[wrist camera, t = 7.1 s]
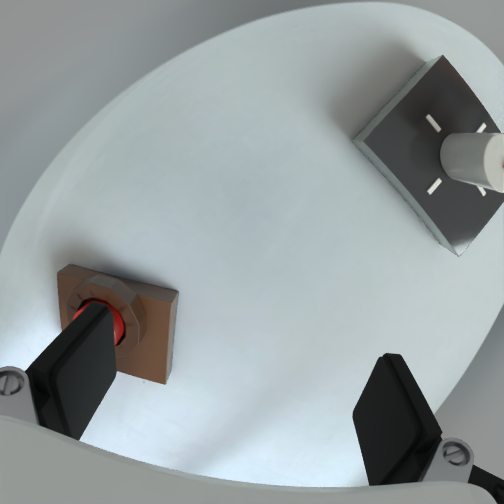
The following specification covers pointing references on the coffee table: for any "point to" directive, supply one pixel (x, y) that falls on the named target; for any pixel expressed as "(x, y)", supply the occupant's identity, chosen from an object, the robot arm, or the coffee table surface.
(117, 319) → the power button
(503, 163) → the hob knob
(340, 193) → the coffee table surface
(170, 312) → the power block
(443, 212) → the hob panel
